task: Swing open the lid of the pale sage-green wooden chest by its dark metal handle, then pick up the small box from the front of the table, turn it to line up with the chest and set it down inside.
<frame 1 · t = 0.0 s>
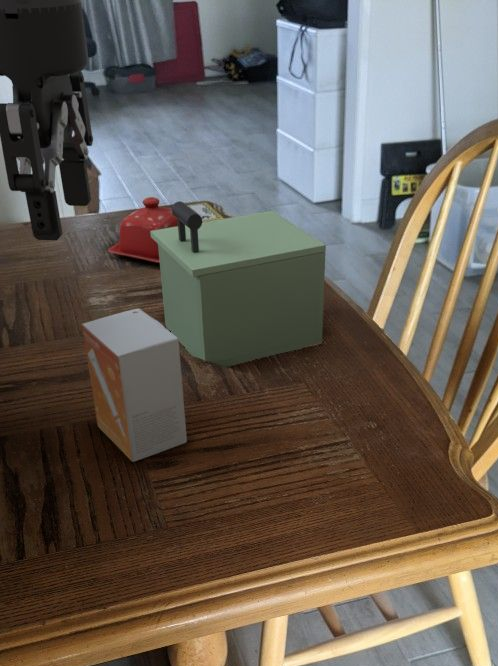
hand: (64, 220, 66), 23 cm above the table, tool pointing down, fingers open, 8 cm apart
small box: (143, 446, 80), on the table
lid: (235, 222, 91), point 15 cm above the table, hinge at 0.0°
chest: (242, 335, 100), on the table
butter dish: (156, 253, 123), on the table
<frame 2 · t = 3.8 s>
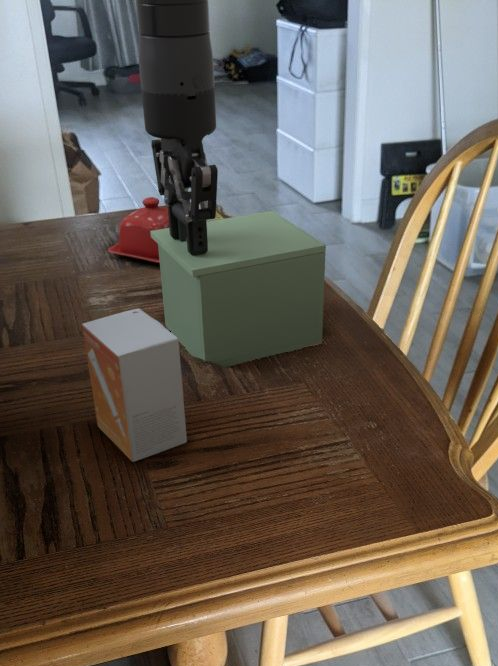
hand: (188, 244, 90), 13 cm above the table, tool pointing down, fingers closed on lid, 5 cm apart
lid: (235, 222, 91), point 15 cm above the table, hinge at 0.0°, touching gripper
everything else where it was.
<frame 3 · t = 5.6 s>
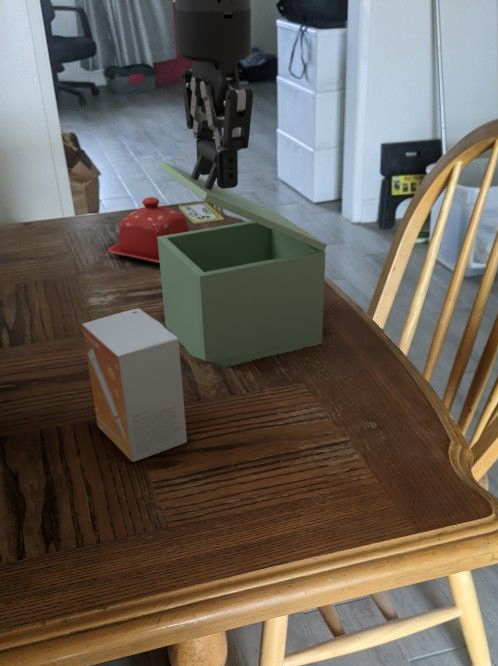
hand: (217, 179, 87), 20 cm above the table, tool pointing down, fingers closed on lid, 5 cm apart
lid: (250, 187, 90), point 18 cm above the table, hinge at 28.5°, touching gripper
everything else where it was.
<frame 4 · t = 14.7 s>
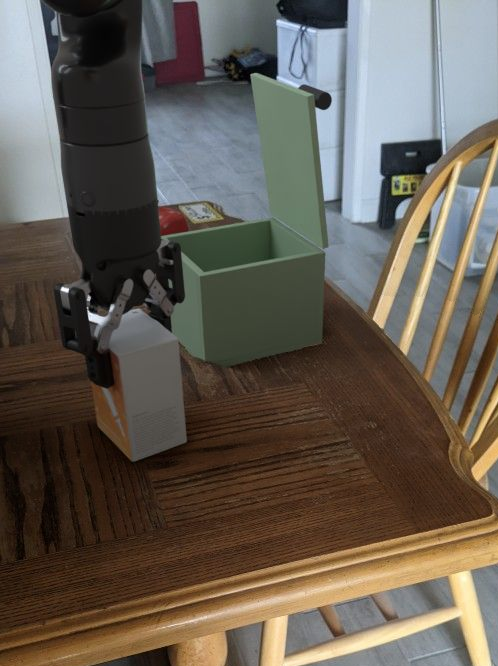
hand: (133, 366, 75), 9 cm above the table, tool pointing down, fingers closed on small box, 7 cm apart
small box: (143, 447, 80), on the table, touching gripper
lid: (306, 155, 91), point 21 cm above the table, hinge at 81.3°
everything else where it was.
when the fingers open (10 cm above the table, at t = 24.9 s): small box stays where it is, resting on chest.
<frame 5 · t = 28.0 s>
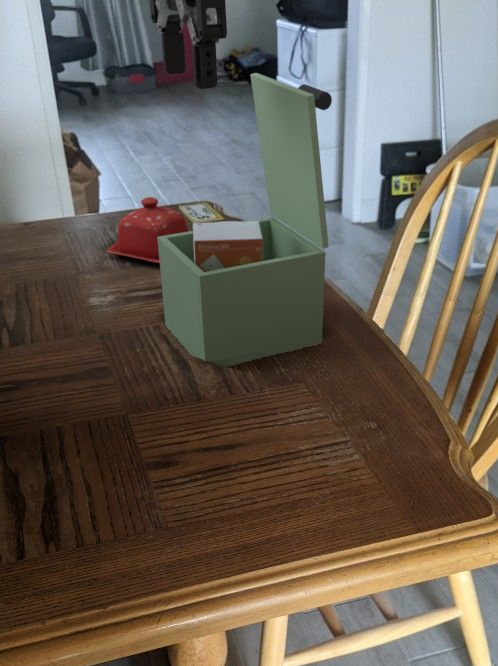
hand: (189, 80, 80), 30 cm above the table, tool pointing down, fingers open, 8 cm apart
small box: (230, 332, 99), point 1 cm above the table, touching chest
everything else where it was.
at the end: lid at +81° (first picture: +0°); small box inside the target area in the chest (1.6 cm from its centre), point 0.7 cm above the chest's base; small box tilted 0° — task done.
